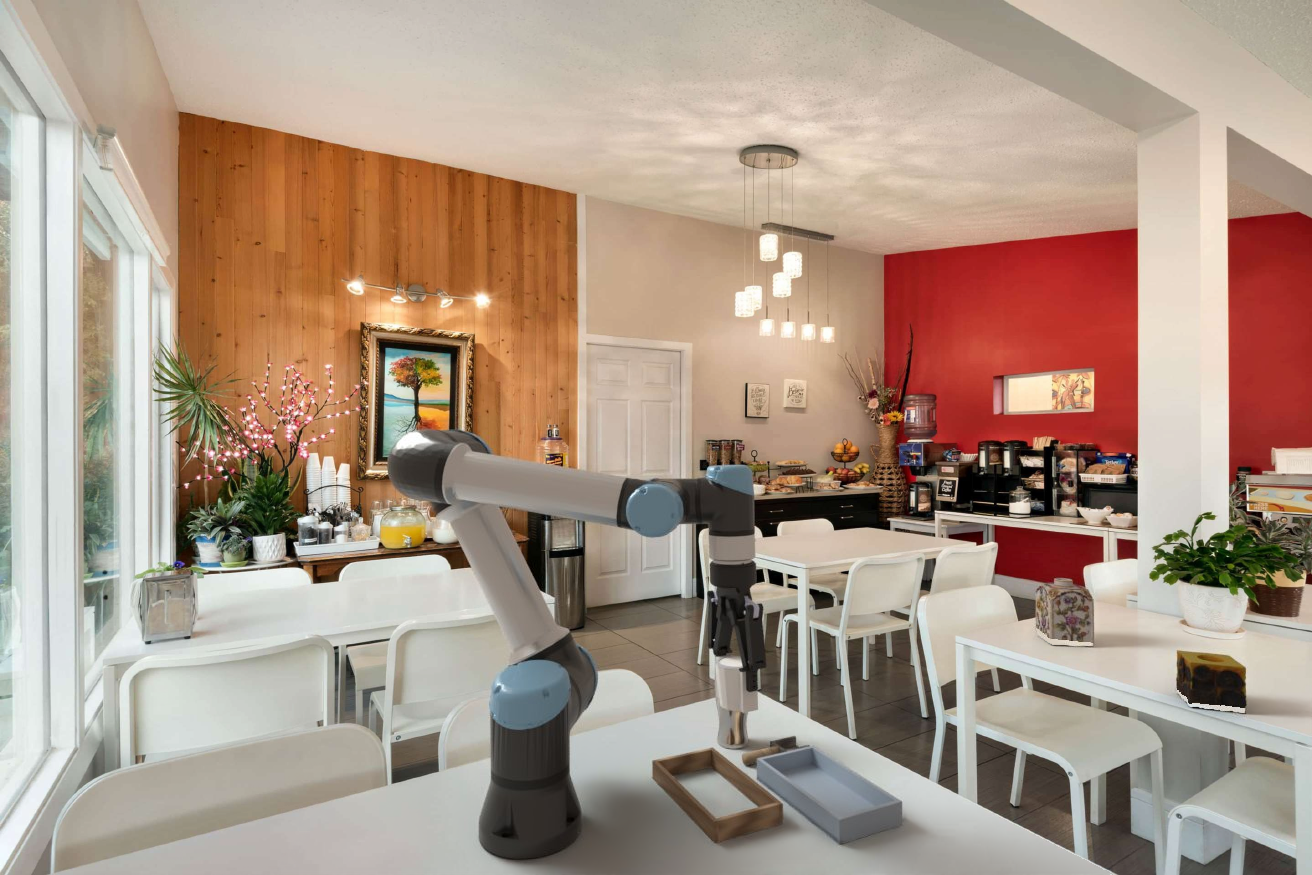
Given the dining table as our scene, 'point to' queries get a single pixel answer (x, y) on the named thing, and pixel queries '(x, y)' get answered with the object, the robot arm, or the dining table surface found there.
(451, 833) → the dining table surface
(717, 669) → the white faceted cup
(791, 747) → the hand scoop
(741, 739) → the silver metal tumbler
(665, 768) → the walnut frame
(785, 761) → the bin
